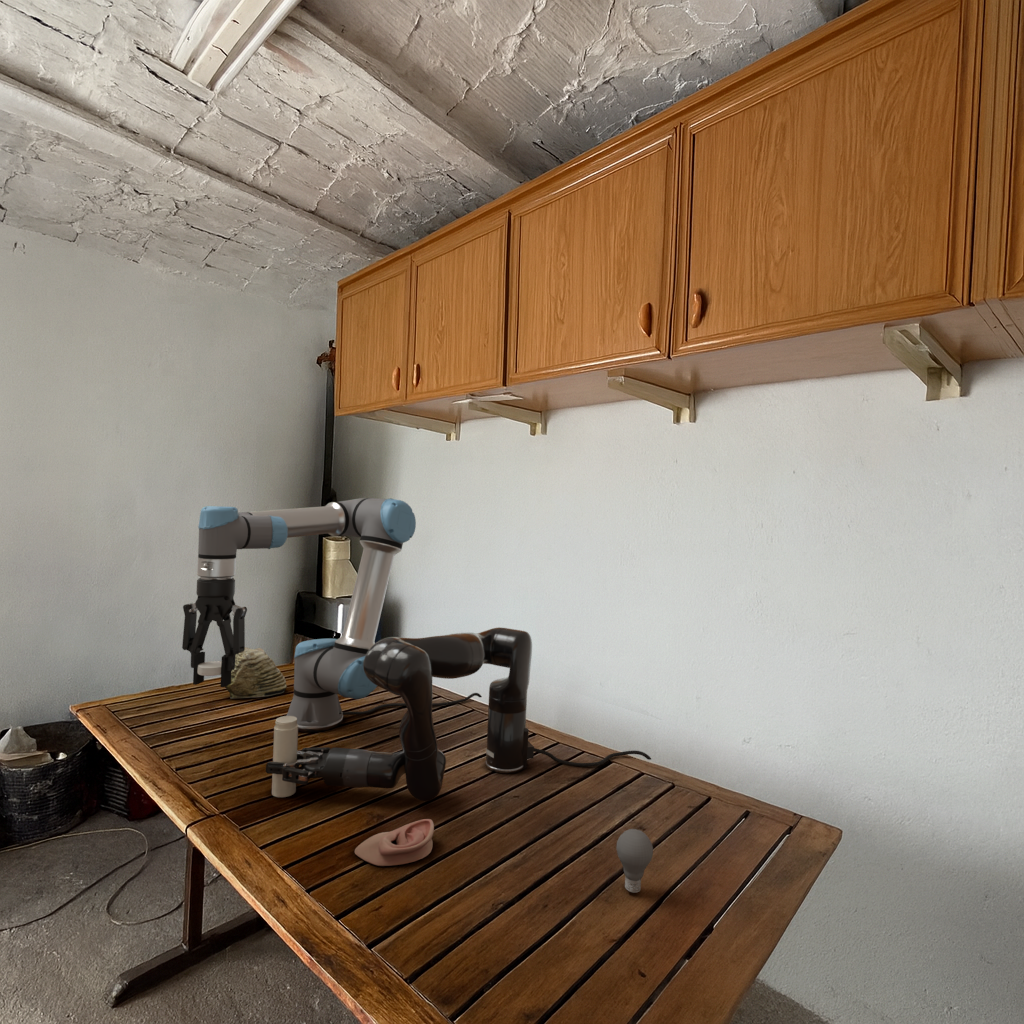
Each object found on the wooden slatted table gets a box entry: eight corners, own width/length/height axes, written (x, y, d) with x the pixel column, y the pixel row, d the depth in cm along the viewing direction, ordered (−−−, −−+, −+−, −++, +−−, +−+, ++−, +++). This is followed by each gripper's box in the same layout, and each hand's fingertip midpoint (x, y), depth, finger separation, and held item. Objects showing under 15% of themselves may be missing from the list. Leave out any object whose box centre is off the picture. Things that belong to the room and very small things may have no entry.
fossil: (218, 695, 195) (220, 647, 195) (278, 685, 208) (279, 640, 207) (228, 703, 189) (230, 653, 188) (289, 692, 201) (290, 645, 201)
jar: (267, 791, 135) (269, 718, 135) (288, 784, 139) (291, 713, 138) (278, 799, 132) (281, 725, 131) (300, 792, 135) (303, 719, 135)
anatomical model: (347, 838, 110) (374, 807, 122) (346, 860, 111) (373, 828, 122) (419, 850, 108) (440, 817, 119) (418, 873, 108) (439, 838, 119)
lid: (226, 675, 136) (227, 667, 136) (196, 676, 133) (196, 668, 133) (227, 668, 141) (227, 660, 141) (198, 669, 139) (198, 661, 139)
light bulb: (610, 879, 108) (613, 822, 108) (644, 879, 109) (647, 822, 109) (619, 902, 102) (622, 840, 102) (655, 901, 103) (658, 840, 103)
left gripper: (165, 576, 134) (160, 685, 135) (247, 582, 132) (242, 692, 132) (187, 573, 142) (183, 676, 142) (265, 578, 139) (261, 682, 140)
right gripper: (361, 737, 141) (287, 732, 142) (339, 764, 127) (257, 758, 128) (360, 770, 141) (286, 765, 142) (338, 801, 127) (256, 794, 128)
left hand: (212, 683), depth 137 cm, fingers closed on lid, 6 cm apart
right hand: (272, 762), depth 135 cm, fingers closed on jar, 5 cm apart
